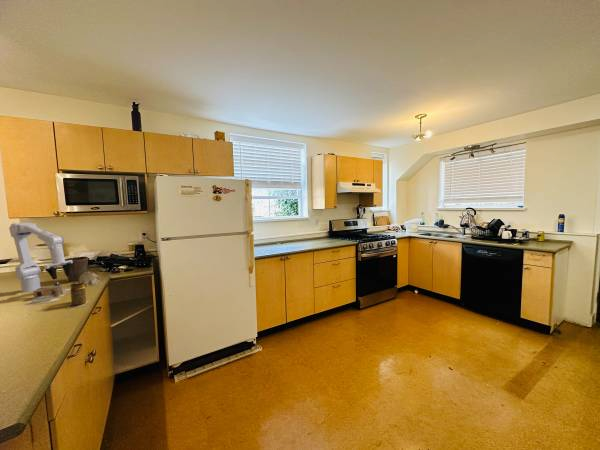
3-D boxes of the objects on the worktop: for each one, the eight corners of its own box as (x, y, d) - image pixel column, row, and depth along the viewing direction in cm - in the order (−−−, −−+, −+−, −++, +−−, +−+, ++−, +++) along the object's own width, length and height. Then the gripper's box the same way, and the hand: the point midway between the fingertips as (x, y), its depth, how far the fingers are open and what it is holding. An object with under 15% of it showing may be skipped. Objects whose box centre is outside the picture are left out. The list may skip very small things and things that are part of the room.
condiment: (89, 300, 142) (87, 280, 141) (84, 306, 135) (82, 284, 134) (72, 303, 139) (70, 282, 138) (66, 308, 131) (64, 286, 130)
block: (46, 296, 148) (45, 289, 147) (55, 294, 150) (54, 288, 149) (43, 298, 144) (42, 291, 144) (52, 297, 146) (51, 290, 146)
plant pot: (93, 279, 183) (91, 257, 182) (66, 285, 171) (64, 262, 169) (85, 276, 191) (83, 255, 190) (59, 281, 179) (57, 259, 177)
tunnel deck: (43, 293, 155) (42, 284, 155) (72, 289, 162) (71, 280, 161) (21, 308, 132) (19, 297, 132) (56, 303, 139) (55, 293, 138)
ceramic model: (105, 283, 173) (104, 269, 172) (90, 289, 162) (88, 274, 161) (88, 282, 175) (87, 269, 175) (71, 288, 164) (70, 273, 164)
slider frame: (50, 290, 157) (49, 282, 156) (65, 288, 160) (64, 280, 160) (32, 302, 137) (31, 293, 136) (50, 300, 140) (49, 291, 139)
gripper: (50, 257, 144) (54, 280, 145) (75, 252, 159) (79, 273, 160) (39, 258, 145) (44, 281, 146) (65, 253, 159) (69, 274, 160)
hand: (61, 277), depth 153 cm, fingers open, 7 cm apart
